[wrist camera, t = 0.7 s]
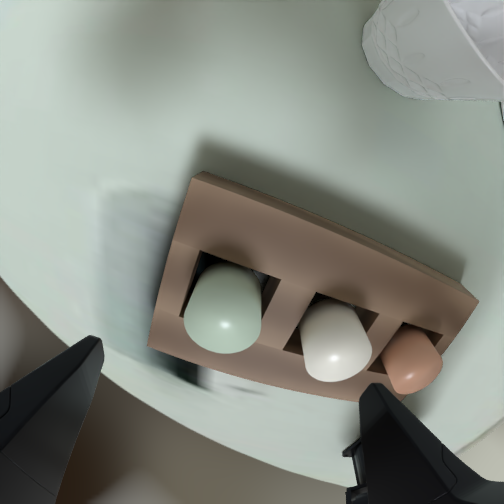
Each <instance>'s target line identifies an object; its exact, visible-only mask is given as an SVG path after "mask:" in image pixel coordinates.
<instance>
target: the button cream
mask: <svg viewBox="0 0 504 504" xmlns="http://www.w3.org/2000/svg"><path fill="white" fill-rule="evenodd" d="M299 331H300V336H301V342H302V348H303V354H304V360H305V367H306V370H307V372H308V373H309V374H310V375H311V376H312V377H313V378H315V379H317V380H320V381H325V382H336V381H341V380H345V379H347V378H350V377H352V376H354V375H355V374H357V373H358V372H360V371H361V370H362V369H363V368H364V367H365V366H366V365H367V363H368V362H369V360H370V358H371V354H372V346H371V343H370V341H369V339H368V337H367V335H366V333H365V330H364V328H363V326H362V324H361V322H360V320H359V318H358V315H357V313H356V311H355V309H354V308H353V307H352V305H351V304H349V303H347V302H344V301H341V300H338V299H326V300H322V301H319V302H317V303H315V304H313V305H312V306H310V307H309V308H308V309H307V310H306V311H305V312H304V314H303V316H302V318H301V319H300V323H299Z"/></svg>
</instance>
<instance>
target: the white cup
mask: <svg viewBox="0 0 504 504" xmlns="http://www.w3.org/2000/svg"><path fill="white" fill-rule="evenodd" d="M362 47H363V50H364V53H365V56H366V59H367V62H368V65H369V66H370V67H371V69H372V70H373V71H374V72H375V74H376V75H377V76H378V77H379V79H380V80H381V81H382V82H383V84H384V85H386V86H388V87H389V88H391V89H392V90H394V91H395V92H397V93H398V94H400V95H401V96H403V97H409V98H414V99H419V100H430V99H438V100H464V101H498V102H504V0H382V1H381V2H380V3H379V6H378V8H377V10H376V11H375V13H374V14H373V16H372V17H371V18H370V19H369V20H368V21H367V23H366V24H365V25H364V27H363V36H362Z"/></svg>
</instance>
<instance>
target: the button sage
mask: <svg viewBox="0 0 504 504" xmlns="http://www.w3.org/2000/svg"><path fill="white" fill-rule="evenodd" d="M184 326H185V329H186V331H187V333H188V335H189V336H190V337H191V339H192V340H193V341H194V342H195V343H197V344H198V345H199V346H201V347H203V348H205V349H207V350H209V351H212V352H216V353H223V354H230V353H236V352H240V351H243V350H245V349H247V348H248V347H250V346H251V345H252V344H253V343H254V342H255V341H256V340H257V338H258V337H259V334H260V331H261V285H260V282H259V280H258V278H257V276H256V275H255V274H254V273H253V272H252V271H251V270H250V269H249V268H248V267H245V266H242V265H240V264H237V263H234V262H230V261H224V262H218V263H215V264H212V265H210V266H209V267H207V268H206V269H205V270H204V271H203V272H202V273H201V275H200V276H199V279H198V281H197V283H196V286H195V288H194V291H193V293H192V295H191V298H190V300H189V303H188V305H187V308H186V310H185V313H184Z"/></svg>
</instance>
